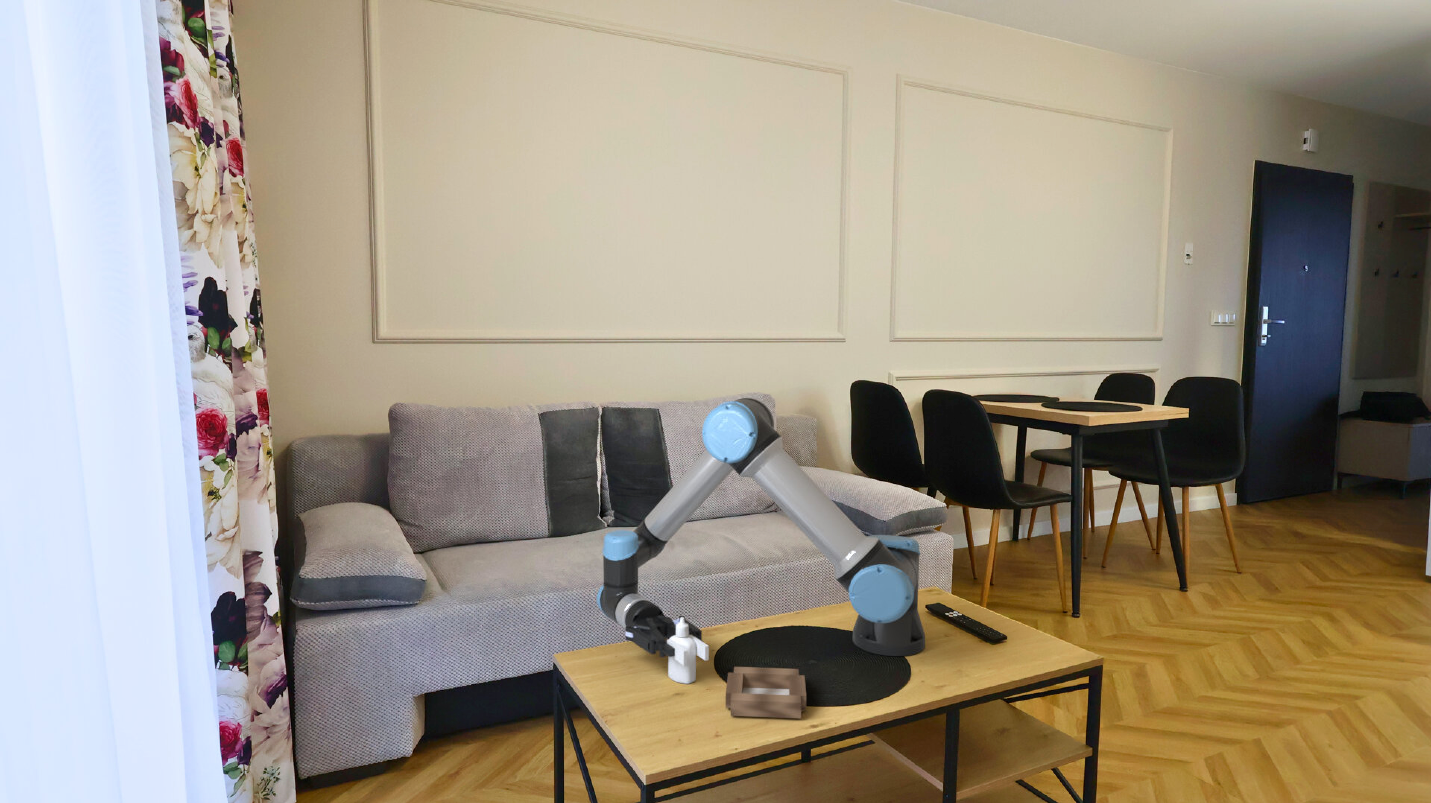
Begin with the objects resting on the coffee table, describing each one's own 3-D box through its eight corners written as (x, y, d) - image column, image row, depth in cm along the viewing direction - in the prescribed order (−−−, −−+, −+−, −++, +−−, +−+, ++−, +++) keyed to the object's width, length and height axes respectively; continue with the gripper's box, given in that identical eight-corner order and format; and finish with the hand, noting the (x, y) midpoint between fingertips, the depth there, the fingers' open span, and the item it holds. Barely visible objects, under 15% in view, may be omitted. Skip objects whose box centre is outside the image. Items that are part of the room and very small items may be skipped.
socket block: (803, 685, 154) (803, 669, 154) (806, 721, 140) (807, 702, 140) (728, 683, 155) (728, 666, 155) (724, 717, 141) (724, 699, 141)
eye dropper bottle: (687, 671, 160) (688, 611, 159) (697, 683, 155) (698, 621, 154) (666, 674, 158) (666, 614, 157) (675, 686, 153) (676, 624, 152)
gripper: (676, 627, 176) (734, 665, 156) (602, 642, 167) (655, 685, 147) (676, 593, 175) (735, 627, 155) (602, 606, 167) (655, 644, 147)
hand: (696, 655), depth 151 cm, fingers closed on eye dropper bottle, 4 cm apart
